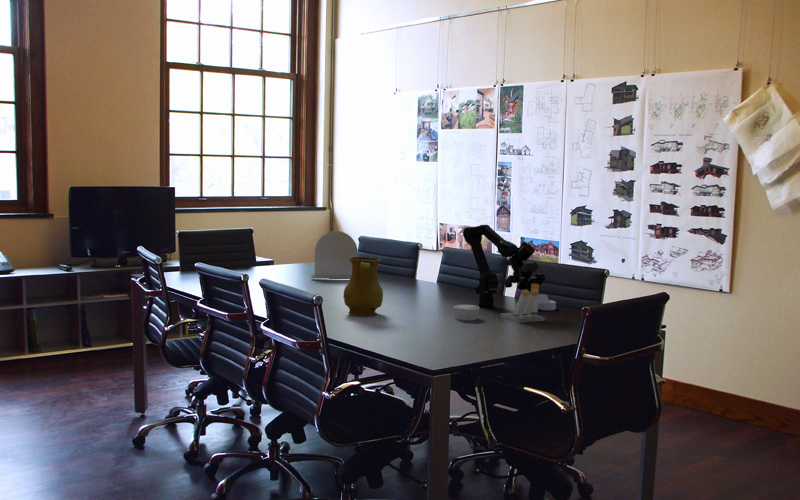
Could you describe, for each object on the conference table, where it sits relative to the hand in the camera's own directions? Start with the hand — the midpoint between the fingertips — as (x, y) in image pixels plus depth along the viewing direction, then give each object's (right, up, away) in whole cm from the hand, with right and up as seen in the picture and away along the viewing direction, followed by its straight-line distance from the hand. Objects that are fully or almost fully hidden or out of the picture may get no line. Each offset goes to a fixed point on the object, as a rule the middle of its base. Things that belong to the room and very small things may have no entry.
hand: (532, 296), depth 325 cm
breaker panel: (-4, -10, 0) cm, 11 cm away
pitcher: (-74, -8, +2) cm, 74 cm away
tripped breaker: (0, -7, -1) cm, 8 cm away
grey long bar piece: (-4, -8, -2) cm, 9 cm away
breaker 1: (-8, -8, -4) cm, 12 cm away
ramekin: (-29, -10, -3) cm, 31 cm away
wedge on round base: (+9, -8, +25) cm, 28 cm away
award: (-94, +3, +105) cm, 141 cm away
